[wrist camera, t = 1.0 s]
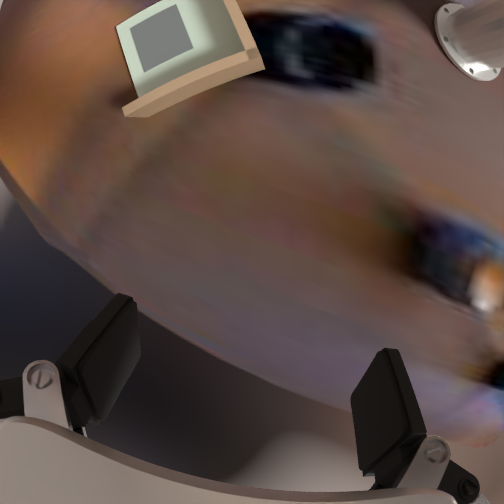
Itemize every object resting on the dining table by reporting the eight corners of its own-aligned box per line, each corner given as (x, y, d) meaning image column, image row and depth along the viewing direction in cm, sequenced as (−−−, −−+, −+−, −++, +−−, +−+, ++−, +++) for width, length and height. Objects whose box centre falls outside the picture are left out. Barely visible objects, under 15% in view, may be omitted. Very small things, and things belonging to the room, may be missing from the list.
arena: (223, -23, 23) (213, -44, 18) (264, 69, 29) (260, 56, 23) (118, 27, 27) (95, 17, 21) (148, 117, 32) (124, 116, 27)
